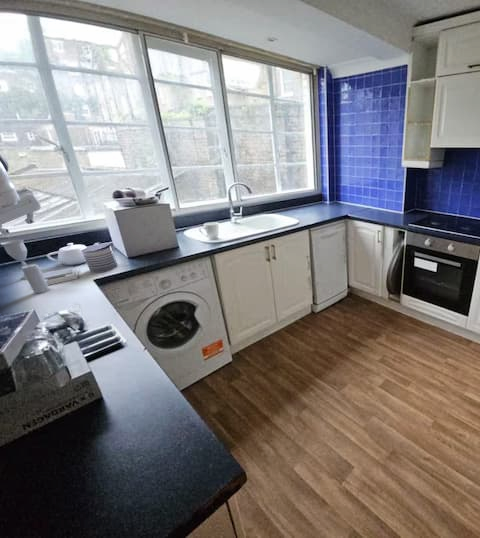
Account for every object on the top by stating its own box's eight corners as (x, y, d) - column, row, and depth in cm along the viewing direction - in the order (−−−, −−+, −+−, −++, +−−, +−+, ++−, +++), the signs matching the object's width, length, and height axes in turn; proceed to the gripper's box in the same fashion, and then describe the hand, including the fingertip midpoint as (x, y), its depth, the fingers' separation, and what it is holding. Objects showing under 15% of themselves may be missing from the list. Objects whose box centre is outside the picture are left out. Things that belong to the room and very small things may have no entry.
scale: (38, 287, 132) (35, 281, 131) (41, 278, 140) (39, 273, 139) (77, 278, 140) (74, 273, 139) (77, 271, 148) (75, 266, 147)
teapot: (51, 271, 149) (42, 251, 145) (52, 263, 158) (43, 245, 154) (106, 259, 162) (99, 241, 158) (104, 253, 172) (97, 235, 167)
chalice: (41, 272, 147) (24, 238, 140) (41, 276, 143) (23, 241, 136) (20, 277, 143) (1, 242, 135) (19, 281, 138) (-1, 245, 131)
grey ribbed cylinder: (111, 271, 147) (102, 248, 142) (85, 274, 144) (75, 251, 140) (122, 263, 157) (114, 241, 152) (97, 265, 155) (88, 243, 150)
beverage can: (32, 294, 125) (18, 269, 120) (38, 289, 129) (24, 264, 125) (46, 292, 127) (33, 266, 122) (52, 287, 131) (39, 262, 126)
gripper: (21, 184, 119) (36, 215, 126) (-41, 204, 102) (-19, 238, 110) (37, 188, 119) (51, 218, 127) (-22, 208, 102) (-2, 242, 110)
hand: (18, 228), depth 118 cm, fingers open, 8 cm apart
